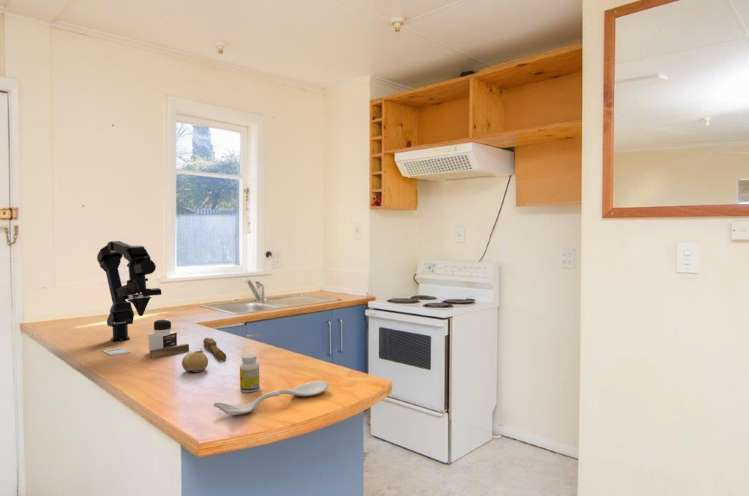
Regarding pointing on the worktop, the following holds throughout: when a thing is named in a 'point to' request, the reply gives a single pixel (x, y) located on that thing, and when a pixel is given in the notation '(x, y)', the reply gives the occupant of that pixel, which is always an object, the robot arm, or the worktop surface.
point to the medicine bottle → (162, 335)
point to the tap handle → (214, 349)
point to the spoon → (301, 390)
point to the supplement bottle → (249, 374)
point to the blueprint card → (116, 351)
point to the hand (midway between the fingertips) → (141, 315)
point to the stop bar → (169, 350)
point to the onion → (195, 361)
